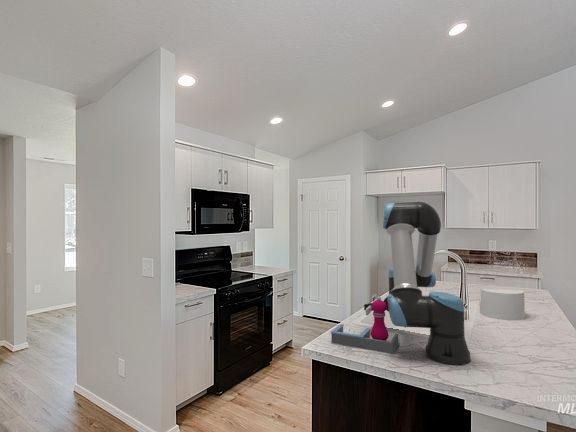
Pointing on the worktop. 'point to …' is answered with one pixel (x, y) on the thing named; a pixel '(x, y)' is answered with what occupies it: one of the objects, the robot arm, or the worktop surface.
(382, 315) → the pepper mill
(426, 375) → the worktop surface
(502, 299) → the container
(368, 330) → the divider rack
